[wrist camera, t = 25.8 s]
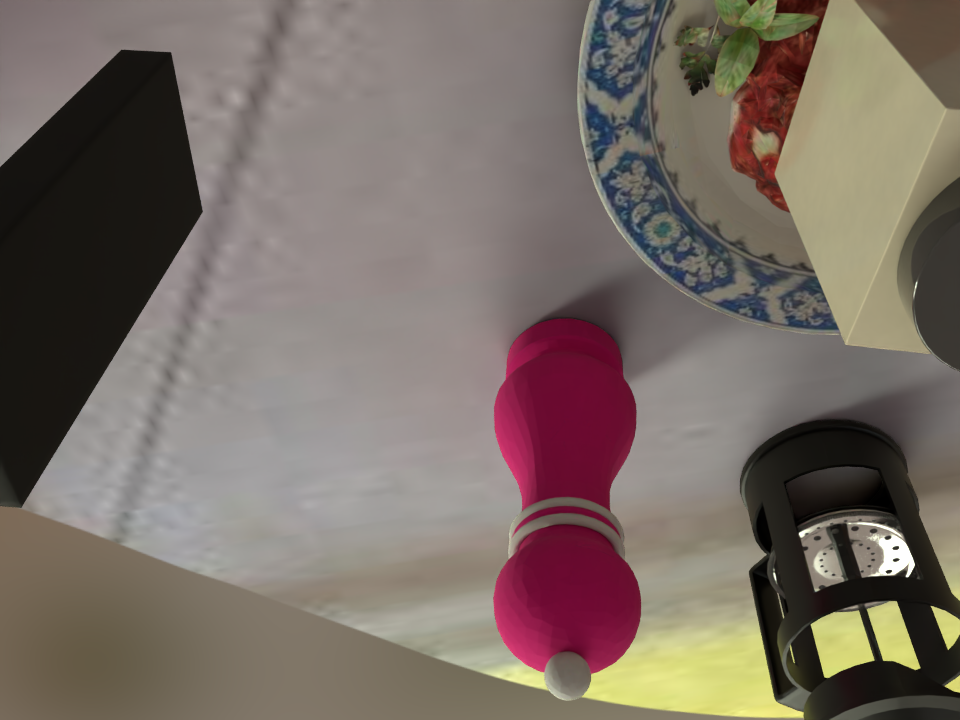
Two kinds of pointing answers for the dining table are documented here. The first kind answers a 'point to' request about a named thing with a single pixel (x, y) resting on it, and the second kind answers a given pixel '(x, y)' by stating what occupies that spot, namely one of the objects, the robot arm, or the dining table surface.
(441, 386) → the dining table surface
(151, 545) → the dining table surface
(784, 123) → the ceramic plate
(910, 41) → the beige box
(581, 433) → the pepper mill
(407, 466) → the dining table surface
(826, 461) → the french press
